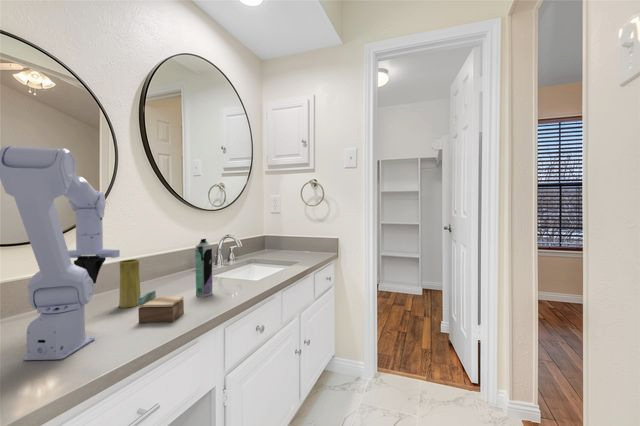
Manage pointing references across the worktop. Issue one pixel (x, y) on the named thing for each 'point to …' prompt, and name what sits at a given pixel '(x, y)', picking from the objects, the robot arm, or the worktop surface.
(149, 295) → the tan panel teal strip
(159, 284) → the worktop surface
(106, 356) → the worktop surface
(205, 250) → the spray can
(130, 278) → the vase
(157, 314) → the box
